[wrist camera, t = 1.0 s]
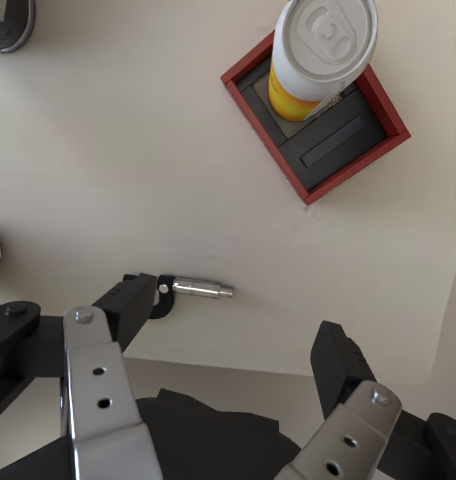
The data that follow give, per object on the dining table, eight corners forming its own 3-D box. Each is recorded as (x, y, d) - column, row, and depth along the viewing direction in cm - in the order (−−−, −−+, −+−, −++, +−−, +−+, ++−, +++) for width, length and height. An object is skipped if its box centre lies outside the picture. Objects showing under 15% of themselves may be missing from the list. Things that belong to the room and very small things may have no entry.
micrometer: (125, 313, 40) (116, 323, 38) (124, 267, 38) (115, 274, 36) (229, 328, 39) (227, 340, 37) (234, 281, 37) (232, 290, 35)
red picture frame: (224, 86, 31) (219, 77, 28) (316, 6, 28) (324, -14, 25) (302, 201, 33) (307, 206, 30) (395, 139, 31) (411, 136, 27)
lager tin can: (299, 46, 29) (337, -64, 15) (337, 91, 30) (408, 27, 16) (256, 93, 31) (253, 33, 16) (293, 134, 32) (321, 112, 17)
